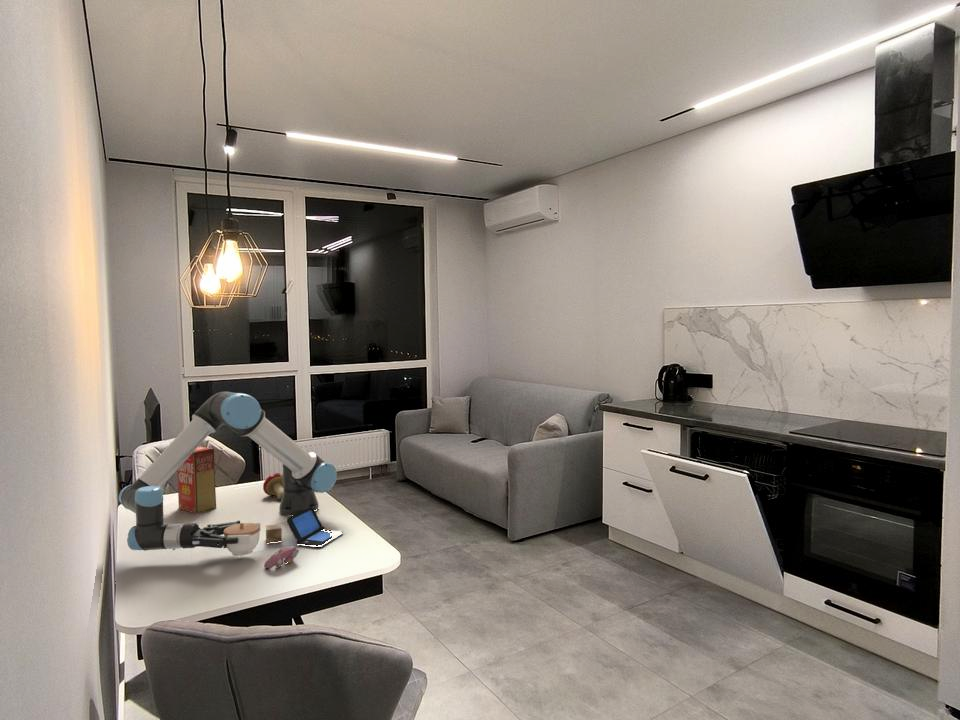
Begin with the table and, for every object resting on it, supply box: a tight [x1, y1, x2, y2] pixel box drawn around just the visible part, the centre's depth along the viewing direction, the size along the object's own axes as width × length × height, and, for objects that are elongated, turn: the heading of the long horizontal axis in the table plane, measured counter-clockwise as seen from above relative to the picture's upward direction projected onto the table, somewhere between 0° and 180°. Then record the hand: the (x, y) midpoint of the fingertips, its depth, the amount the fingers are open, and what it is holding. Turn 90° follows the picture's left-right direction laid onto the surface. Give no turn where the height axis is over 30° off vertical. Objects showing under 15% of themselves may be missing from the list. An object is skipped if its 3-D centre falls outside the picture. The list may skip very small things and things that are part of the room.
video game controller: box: [263, 545, 300, 570], centre depth 180 cm, size 10×5×7 cm, turn 149°
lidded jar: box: [223, 522, 261, 557], centre depth 186 cm, size 11×11×9 cm
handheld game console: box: [286, 507, 332, 546], centre depth 203 cm, size 16×13×9 cm
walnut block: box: [265, 523, 283, 543], centre depth 202 cm, size 5×5×5 cm
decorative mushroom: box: [262, 472, 284, 501], centre depth 256 cm, size 11×11×15 cm
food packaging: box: [176, 445, 217, 514], centre depth 240 cm, size 13×9×25 cm
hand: (255, 532), depth 187 cm, fingers closed on lidded jar, 11 cm apart
